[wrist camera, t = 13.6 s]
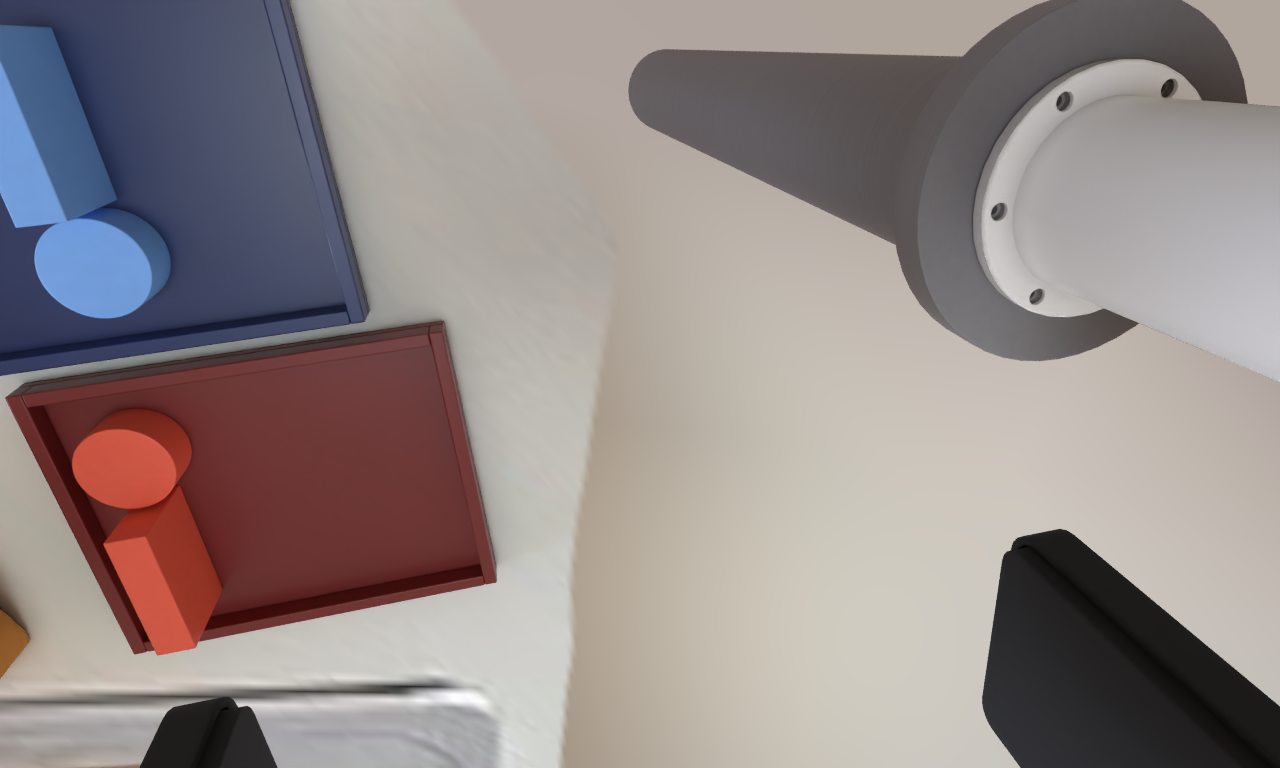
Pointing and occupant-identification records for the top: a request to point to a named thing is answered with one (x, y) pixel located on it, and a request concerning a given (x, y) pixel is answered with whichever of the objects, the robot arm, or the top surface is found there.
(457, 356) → the top surface
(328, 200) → the navy tray
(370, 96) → the top surface
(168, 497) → the coral spoon
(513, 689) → the top surface
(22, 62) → the blue spoon
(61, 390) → the maroon tray
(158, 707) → the top surface
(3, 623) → the coffee package
